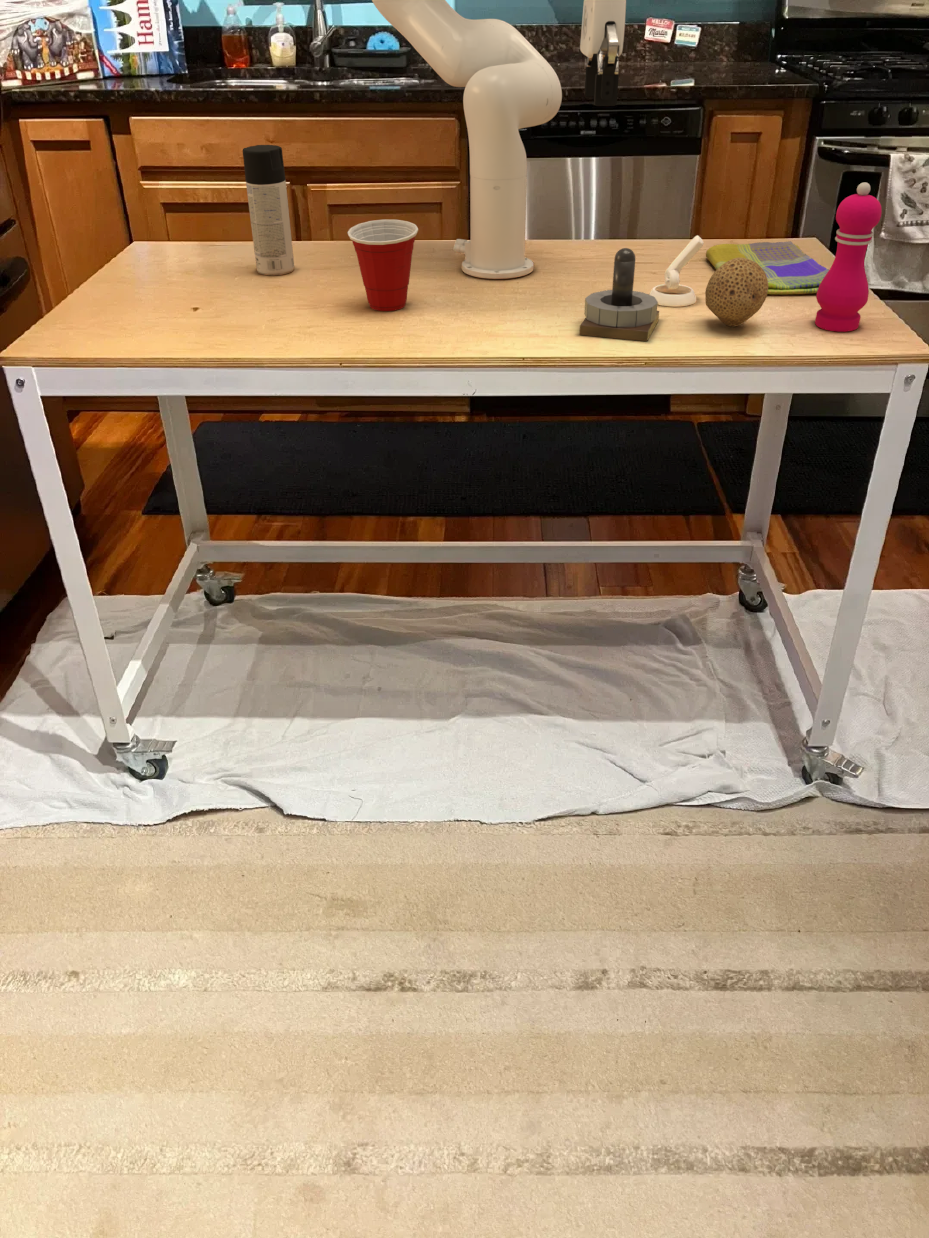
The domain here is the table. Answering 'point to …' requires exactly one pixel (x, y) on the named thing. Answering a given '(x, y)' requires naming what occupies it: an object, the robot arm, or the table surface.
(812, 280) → the dish towel
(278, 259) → the spray can
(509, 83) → the robot arm
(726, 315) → the natural sponge
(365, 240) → the plastic cup
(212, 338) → the table surface
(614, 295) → the spindle
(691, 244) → the white lever handle
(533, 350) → the table surface
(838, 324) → the pepper mill
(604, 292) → the grey ring
